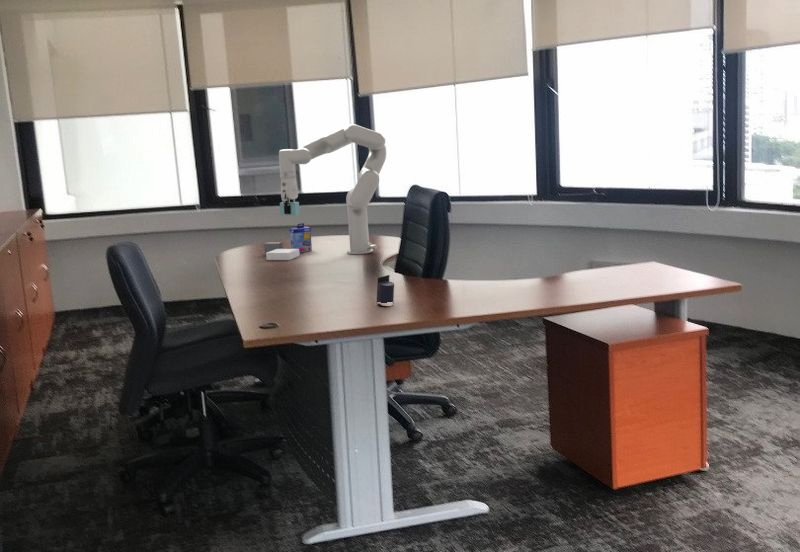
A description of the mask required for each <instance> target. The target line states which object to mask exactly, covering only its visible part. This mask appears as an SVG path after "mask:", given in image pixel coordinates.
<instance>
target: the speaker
mask: <svg viewBox="0 0 800 552" xmlns="http://www.w3.org/2000/svg"><path fill="white" fill-rule="evenodd" d="M376 289H377V291H376V303H377V302H381V303H387V302H393V303H394V302H395V301H394V297H395V283H394V282H392V281H390V274H387V275H382V276H378V277H377V287H376Z"/></svg>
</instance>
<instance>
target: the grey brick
mask: <svg viewBox="0 0 800 552" xmlns="http://www.w3.org/2000/svg"><path fill="white" fill-rule="evenodd" d="M263 246H264V247H263V248H264V256H266V253H267V252H270V251H273V250H275V249H284V245H283V241H282V242H281V241H273V242H272V241H268V242H265V243H263Z"/></svg>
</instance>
